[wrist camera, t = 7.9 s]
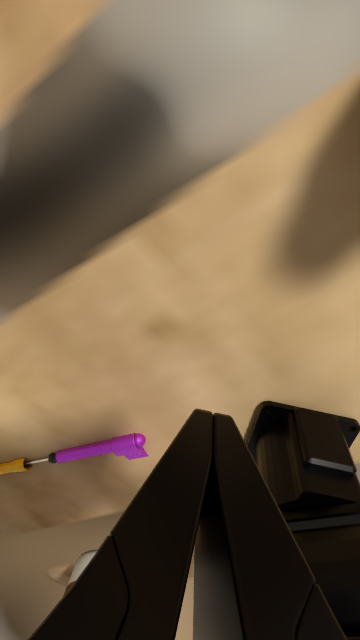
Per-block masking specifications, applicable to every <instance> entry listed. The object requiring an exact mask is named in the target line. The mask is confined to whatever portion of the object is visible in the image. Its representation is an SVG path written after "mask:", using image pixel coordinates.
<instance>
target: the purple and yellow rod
mask: <svg viewBox="0 0 360 640" xmlns="http://www.w3.org/2000/svg"><path fill="white" fill-rule="evenodd" d="M144 443H145V437H144V435H142V434H139V433H138V434H135V433H134V434H129V435H124V436H120V437H115V438H112V439H111V440H106V441H102V442H97V443H93V444H88V445H83V446H79V447H74V448H70V449H65V450H60V451H57V452H56V453H51V454H50V455H49V457H48V458H44V459H39V460H34V461H30V462H25V463H23V462H24V459H25V458H21V459H17V460H15V461H11V462H7V463H2V464H0V475H1V474H6V473H11V472H22V471H27V470H30V469H31V468H32V466H30V467H25V468H24V466H23V465H28V464H33V463H38V462H43V461H47V460H48V461H49V462H50V463H56V462H58V463H62V462H67V461H72V460H77V459H82V458H87V457H92V456H97V455H102V454H107V453H112V452H113V453H115V454H116V455H117V456H122V455H124V456H125V457H127V458H128V459H129V460H131V459H136V458H141V457H147V456H148V455H147V453H146V451H145V450H144V448H143V447H142V446H143V445H144ZM140 454H142V455H140ZM131 455H132V456H131Z"/></svg>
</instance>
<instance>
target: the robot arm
mask: <svg viewBox="0 0 360 640" xmlns="http://www.w3.org/2000/svg"><path fill="white" fill-rule="evenodd" d="M267 408H271V409H267ZM351 426H353V427H351ZM359 432H360V425H359V423H358V421H357V420H355V419H351V418H347V417H342V416H337V415H333V414H328V413H323V412H319V411H314V410H309V409H305V408H300V407H295V406H291V405H286V404H281V403H277V402H272V401H265V402H263V403H262V404H261V406H260V409H259V412H258V414H257V417H256V419H255V422H254V425H253V427H252V430H251V433H250V435H249V438H248V440H247V443H245V441H244V439H243V437H242V435H241V434H240V432H239V430H238V428H237V426H236V424H235V422H234V420H233V418H232V417H231V416H229V415H225V414H220V413H214V414H212V412H210V411H206V410H201V409H195V410H194V411H193V412H192V414H191V415H190V417H189V418H188V420H187V421H186V422H185V424H184V425H183V427H182V428H181V430H180V431H179V433H178V434H177V436H176V437H175V439H174V440H173V441H172V443H171V444H170V446H169V447H168V449H167V450H166V452H165V453H164V455H163V456H162V457H161V459H160V460H159V462H158V463H157V465H156V466H155V468H154V469H153V471H152V472H151V474H150V475H149V476H148V478H147V479H146V481H145V482H144V484H143V485H142V487H141V488H140V490H139V491H138V493H137V494H136V495H135V497H134V498H133V500H132V501H131V503H130V504H129V506H128V507H127V509H126V510H125V512H124V513H123V514H122V516H121V517H120V519H119V520H118V522H117V523H116V525H115V526H114V528H113V529H112V531H111V533H110V536H107V537H106V539H105V540H104V542H103V543H102V545H101V546H100V548H99V549H98V551H97V552H96V553H95V555H94V556H93V558H92V559H91V560H90V562H89V563H88V565H87V566H86V567H85V569H84V570H83V571H82V573H81V574H80V576H79V577H78V578H77V580H76V581H75V582H74V584H73V585H72V586H71V588H70V589H69V590H68V592H67V593H66V594H65V595H64V596H63V598H62V599H61V600H60V601H59V603H58V604H57V605H56V606H55V608H54V609H53V610H52V611H51V613H50V614H49V615H48V616H47V618H46V619H45V620H44V621H43V622H42V624H41V625H40V626H39V627H38V628H37V630H36V631H35V632H34V633H33V634H32V635H31V637H30V638H29V639H28V640H175V636H176V631H177V626H178V622H179V617H180V612H181V607H182V602H183V598H184V593H185V588H186V583H187V578H188V574H189V569H190V564H191V559H192V554H193V550H194V545H195V558H194V611H193V612H194V614H193V640H360V483H359V480H358V478H357V475H356V471H357V470H356V466H355V464H354V461H353V458H352V456H351V453H350V450H349V448H350V446H351V445H352V443H353V441H354V440H355V438H356V436H357V435H358V433H359Z"/></svg>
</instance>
